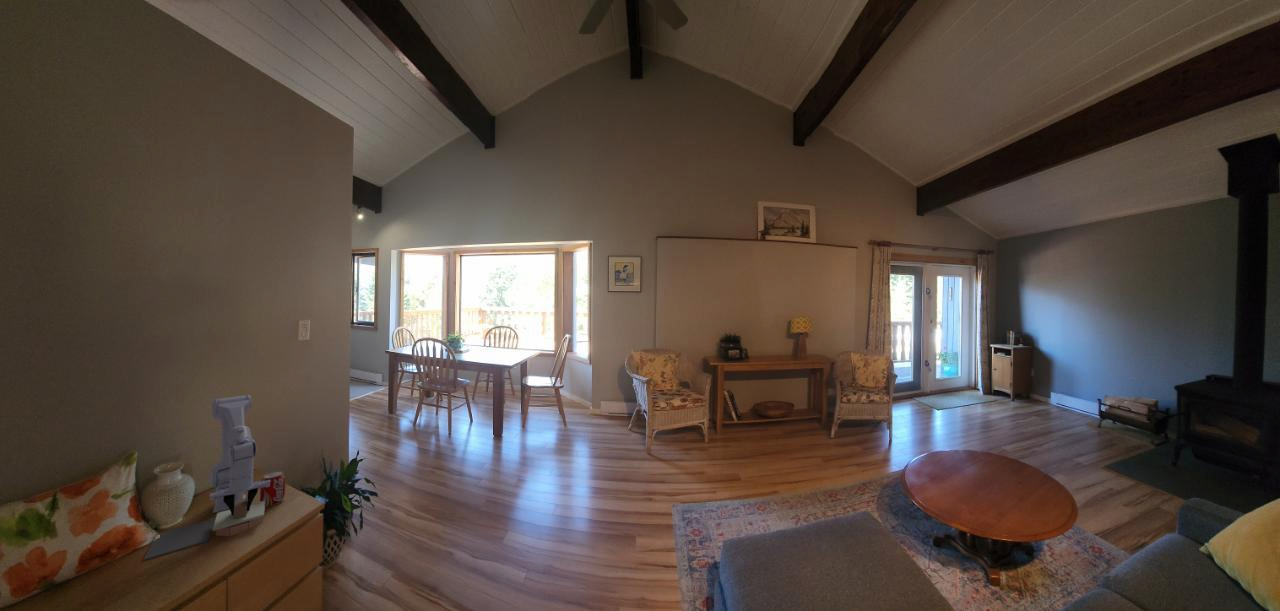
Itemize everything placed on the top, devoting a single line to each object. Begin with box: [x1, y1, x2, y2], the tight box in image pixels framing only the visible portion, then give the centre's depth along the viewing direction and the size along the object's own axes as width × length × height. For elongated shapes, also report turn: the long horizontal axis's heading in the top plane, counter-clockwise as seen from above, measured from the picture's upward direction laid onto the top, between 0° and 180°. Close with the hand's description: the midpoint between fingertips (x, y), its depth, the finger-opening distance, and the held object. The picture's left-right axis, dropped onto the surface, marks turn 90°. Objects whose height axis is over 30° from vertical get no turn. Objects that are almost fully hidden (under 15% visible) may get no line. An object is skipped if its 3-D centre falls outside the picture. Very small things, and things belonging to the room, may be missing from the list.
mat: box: [143, 518, 216, 562], centre depth 120 cm, size 16×13×1 cm
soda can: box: [259, 470, 286, 508], centre depth 142 cm, size 7×7×12 cm
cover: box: [212, 496, 266, 532], centre depth 128 cm, size 12×12×5 cm
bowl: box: [215, 517, 264, 537], centre depth 128 cm, size 11×11×3 cm
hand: (240, 511), depth 128 cm, fingers closed on cover, 3 cm apart
